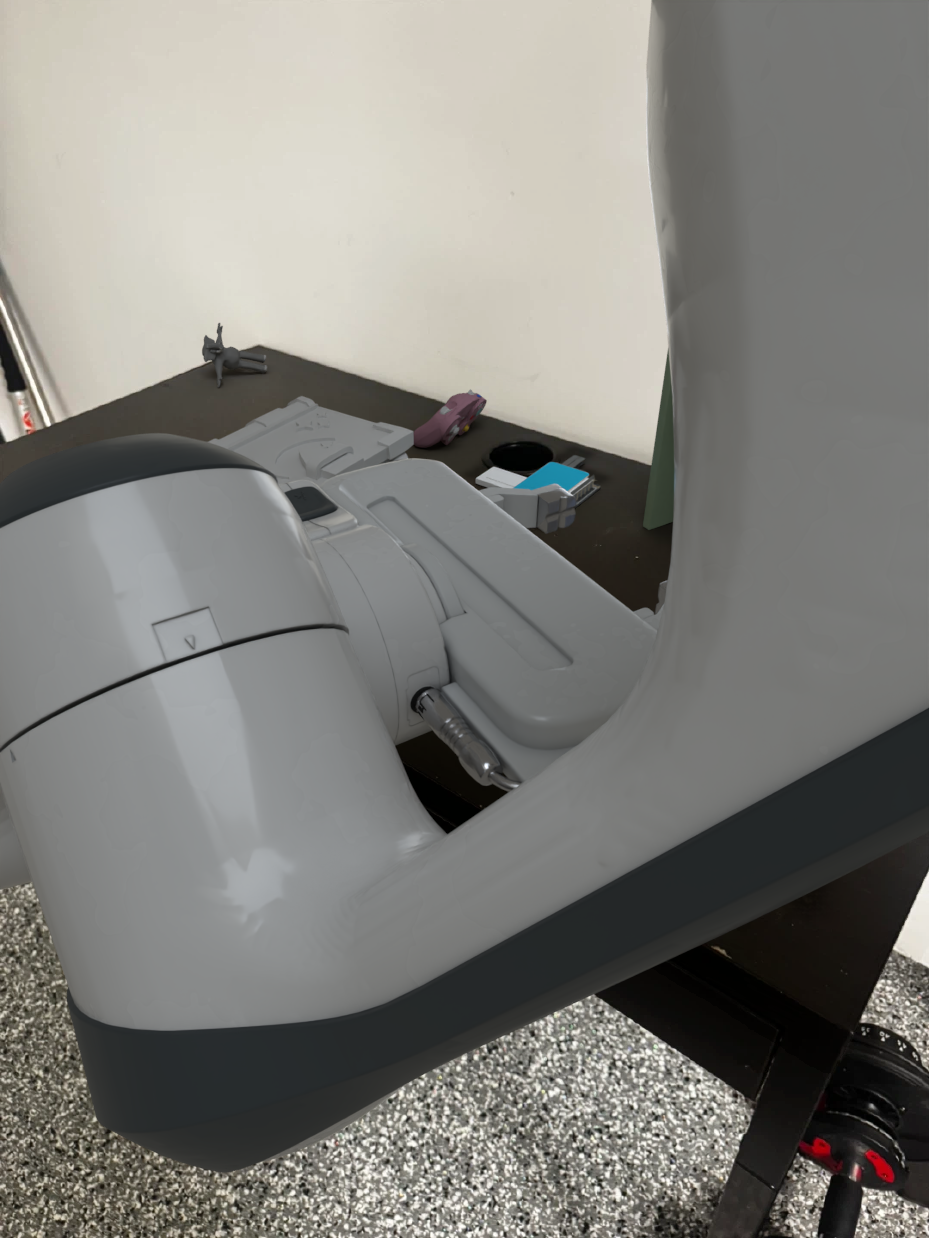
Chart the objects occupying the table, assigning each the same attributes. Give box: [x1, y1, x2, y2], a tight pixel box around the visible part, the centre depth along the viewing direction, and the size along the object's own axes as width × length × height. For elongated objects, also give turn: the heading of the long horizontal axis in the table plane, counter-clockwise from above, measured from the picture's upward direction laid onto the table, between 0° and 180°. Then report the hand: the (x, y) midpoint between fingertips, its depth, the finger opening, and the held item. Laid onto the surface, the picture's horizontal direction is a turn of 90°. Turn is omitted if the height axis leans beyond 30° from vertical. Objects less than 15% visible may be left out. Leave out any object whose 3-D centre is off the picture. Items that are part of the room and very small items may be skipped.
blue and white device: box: [475, 454, 602, 510], centre depth 98 cm, size 20×12×2 cm, turn 144°
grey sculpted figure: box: [201, 322, 268, 389], centre depth 125 cm, size 10×6×9 cm
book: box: [207, 395, 415, 487], centre depth 93 cm, size 19×28×8 cm
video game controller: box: [413, 388, 487, 449], centre depth 108 cm, size 10×5×7 cm, turn 149°
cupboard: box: [642, 348, 675, 531], centre depth 82 cm, size 8×18×21 cm, turn 31°
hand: (628, 546), depth 41 cm, fingers open, 8 cm apart
